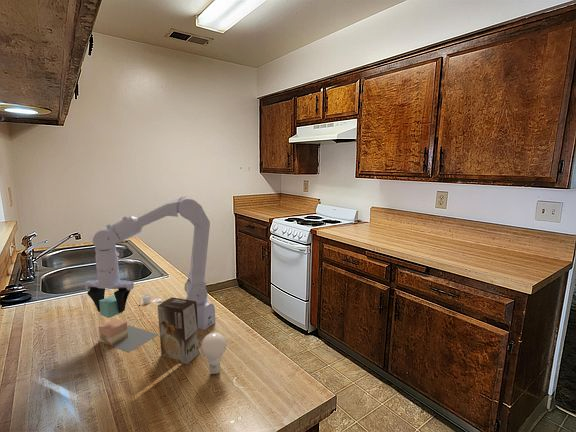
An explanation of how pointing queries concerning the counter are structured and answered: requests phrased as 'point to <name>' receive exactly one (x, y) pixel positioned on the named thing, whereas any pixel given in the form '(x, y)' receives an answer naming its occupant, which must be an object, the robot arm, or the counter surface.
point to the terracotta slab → (112, 328)
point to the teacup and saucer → (149, 299)
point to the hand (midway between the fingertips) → (111, 311)
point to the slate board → (133, 339)
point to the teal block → (108, 307)
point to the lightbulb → (213, 350)
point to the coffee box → (179, 329)
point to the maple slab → (113, 338)
